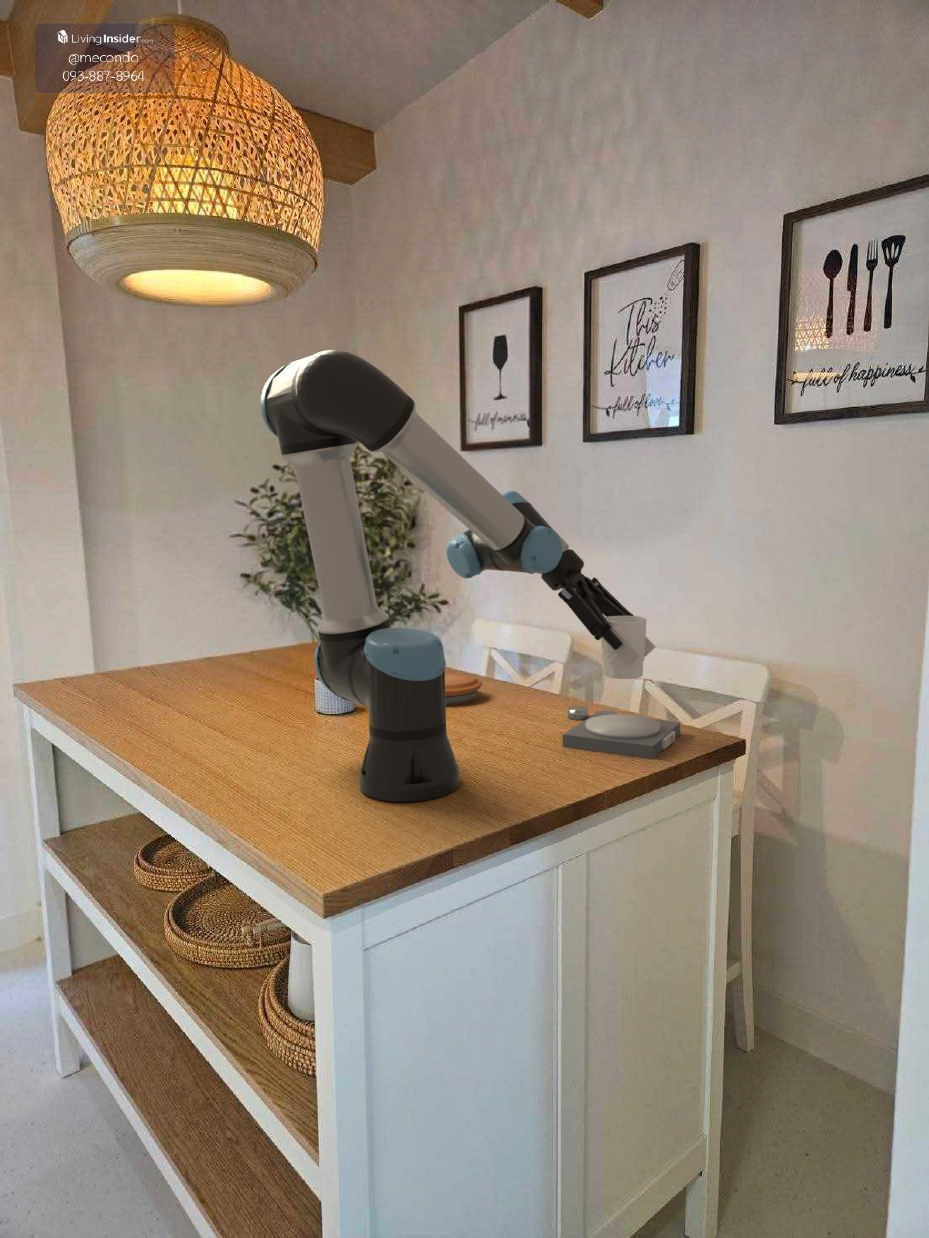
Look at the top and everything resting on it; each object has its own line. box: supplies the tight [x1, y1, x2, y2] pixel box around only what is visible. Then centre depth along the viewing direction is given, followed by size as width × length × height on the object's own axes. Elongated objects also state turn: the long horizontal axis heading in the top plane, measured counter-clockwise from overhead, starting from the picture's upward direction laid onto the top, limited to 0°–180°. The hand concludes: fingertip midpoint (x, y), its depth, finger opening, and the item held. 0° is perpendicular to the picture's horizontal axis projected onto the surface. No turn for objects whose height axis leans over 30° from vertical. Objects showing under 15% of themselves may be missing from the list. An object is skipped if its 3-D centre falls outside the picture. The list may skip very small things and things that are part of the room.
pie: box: [445, 672, 483, 706], centre depth 178 cm, size 15×16×5 cm
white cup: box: [600, 615, 647, 680], centre depth 142 cm, size 8×8×10 cm
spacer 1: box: [567, 705, 589, 722], centre depth 160 cm, size 4×4×2 cm
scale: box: [562, 713, 681, 760], centre depth 144 cm, size 16×17×3 cm
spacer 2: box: [594, 710, 617, 715], centre depth 156 cm, size 4×4×2 cm
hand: (642, 656), depth 140 cm, fingers closed on white cup, 8 cm apart
